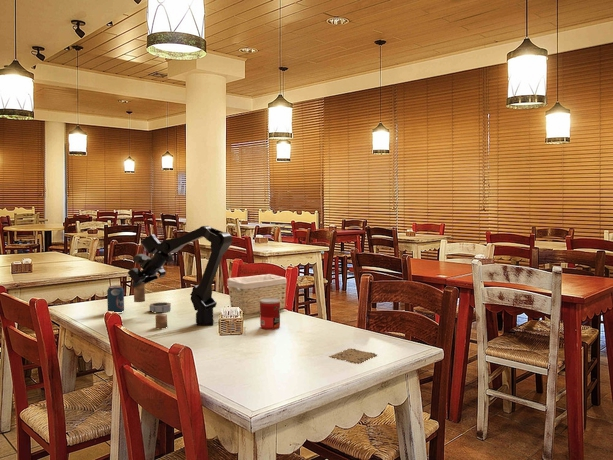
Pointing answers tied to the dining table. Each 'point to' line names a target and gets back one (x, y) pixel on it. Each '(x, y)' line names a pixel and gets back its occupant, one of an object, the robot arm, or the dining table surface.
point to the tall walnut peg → (139, 293)
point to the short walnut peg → (161, 320)
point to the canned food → (270, 313)
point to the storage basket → (256, 291)
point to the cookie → (354, 355)
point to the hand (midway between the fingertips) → (136, 285)
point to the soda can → (115, 298)
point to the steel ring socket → (160, 307)
